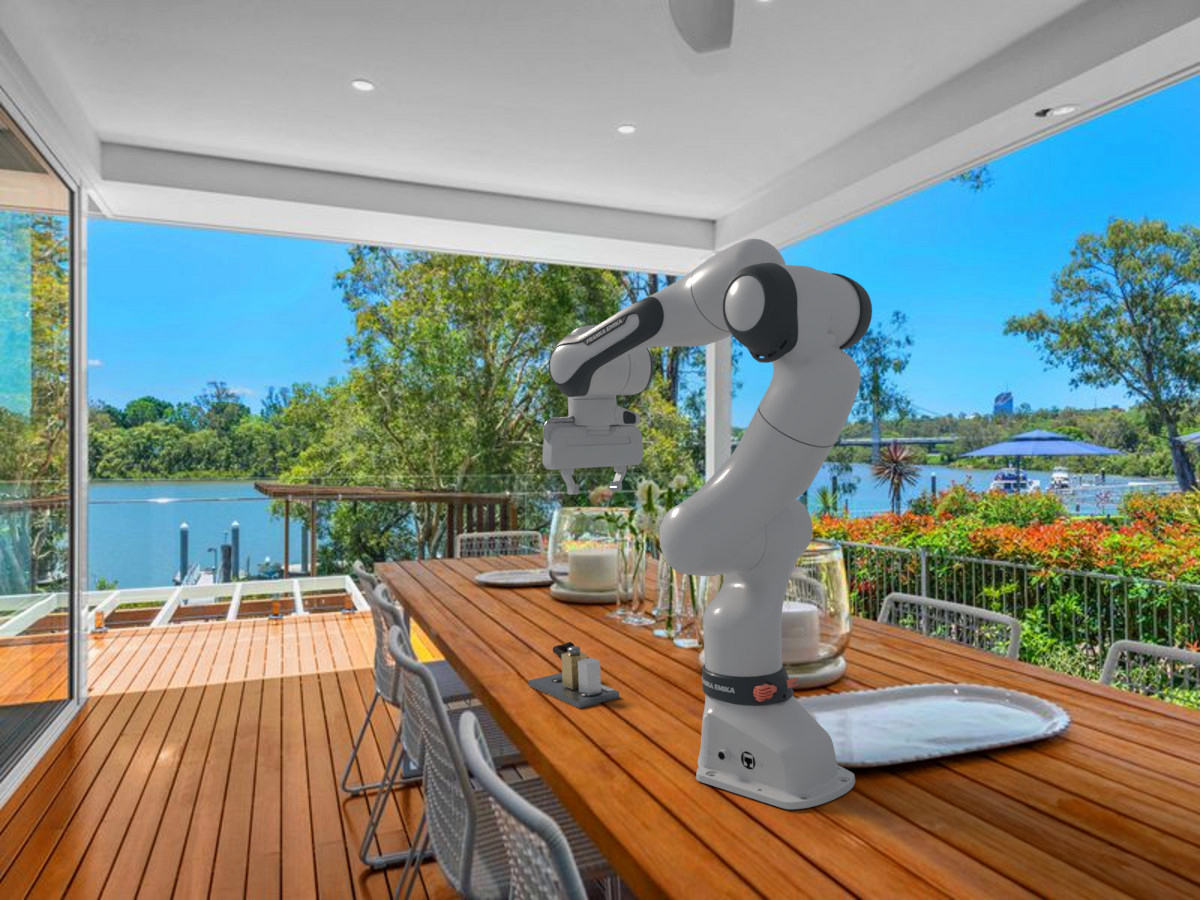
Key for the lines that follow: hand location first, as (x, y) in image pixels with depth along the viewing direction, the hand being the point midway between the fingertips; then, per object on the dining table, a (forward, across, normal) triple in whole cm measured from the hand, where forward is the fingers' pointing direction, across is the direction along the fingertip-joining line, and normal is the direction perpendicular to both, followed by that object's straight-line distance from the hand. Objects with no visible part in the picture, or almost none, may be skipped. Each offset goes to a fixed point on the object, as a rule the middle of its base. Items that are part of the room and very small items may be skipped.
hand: (595, 492), depth 143 cm
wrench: (+40, +11, +23) cm, 47 cm away
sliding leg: (+37, 0, +9) cm, 38 cm away
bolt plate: (+39, 0, +10) cm, 40 cm away
